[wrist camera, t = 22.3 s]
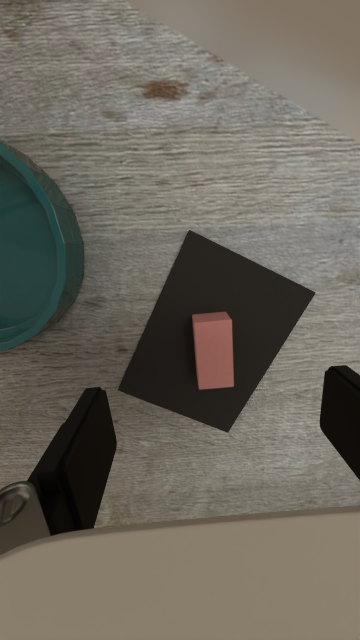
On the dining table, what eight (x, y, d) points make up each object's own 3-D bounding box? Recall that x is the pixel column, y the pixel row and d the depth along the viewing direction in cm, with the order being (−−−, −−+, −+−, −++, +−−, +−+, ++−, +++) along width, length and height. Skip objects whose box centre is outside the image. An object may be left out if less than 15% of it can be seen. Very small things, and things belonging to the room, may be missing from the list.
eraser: (191, 314, 21) (193, 323, 19) (226, 311, 21) (232, 319, 19) (196, 375, 23) (198, 390, 21) (228, 372, 23) (234, 387, 21)
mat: (189, 230, 20) (189, 230, 19) (313, 291, 21) (315, 292, 21) (118, 388, 24) (117, 390, 24) (227, 429, 26) (227, 432, 25)
